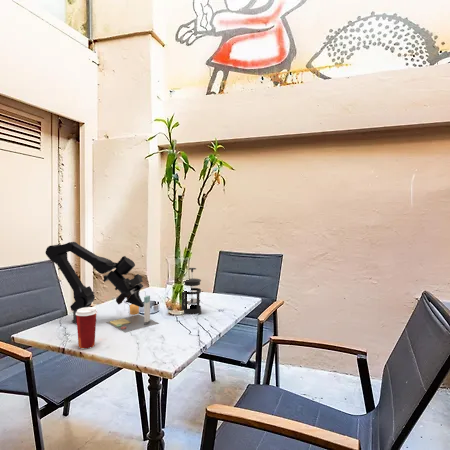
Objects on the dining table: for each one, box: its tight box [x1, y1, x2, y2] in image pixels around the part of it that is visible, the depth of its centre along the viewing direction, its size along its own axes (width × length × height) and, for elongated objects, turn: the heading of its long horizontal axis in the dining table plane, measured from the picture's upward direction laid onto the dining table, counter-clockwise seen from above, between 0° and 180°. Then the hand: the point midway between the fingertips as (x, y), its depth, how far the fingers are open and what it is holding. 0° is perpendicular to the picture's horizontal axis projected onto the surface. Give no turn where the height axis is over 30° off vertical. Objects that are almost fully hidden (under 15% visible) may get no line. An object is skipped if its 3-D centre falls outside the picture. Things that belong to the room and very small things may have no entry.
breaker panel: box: [105, 314, 160, 333], centre depth 154 cm, size 17×18×1 cm
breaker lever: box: [143, 295, 151, 322], centre depth 153 cm, size 2×3×11 cm, turn 172°
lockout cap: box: [129, 303, 140, 316], centre depth 168 cm, size 4×4×5 cm
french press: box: [181, 267, 202, 316], centre depth 171 cm, size 12×9×23 cm
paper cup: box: [75, 306, 98, 349], centre depth 129 cm, size 8×8×14 cm
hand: (143, 306), depth 154 cm, fingers closed
